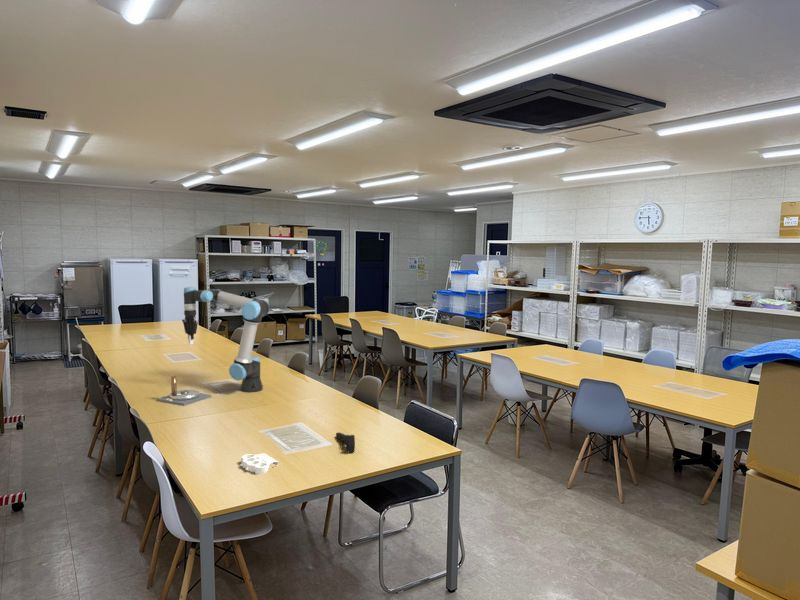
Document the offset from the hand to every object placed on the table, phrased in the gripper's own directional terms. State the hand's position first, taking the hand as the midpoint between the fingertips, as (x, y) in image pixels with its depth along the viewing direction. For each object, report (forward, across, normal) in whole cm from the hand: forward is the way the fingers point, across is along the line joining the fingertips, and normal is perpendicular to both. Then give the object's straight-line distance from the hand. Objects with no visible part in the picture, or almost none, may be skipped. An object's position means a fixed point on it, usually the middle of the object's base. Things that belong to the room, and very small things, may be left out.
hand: (190, 344), depth 362 cm
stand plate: (+32, +13, -19) cm, 39 cm away
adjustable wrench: (+34, +146, -44) cm, 156 cm away
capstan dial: (+30, +13, -19) cm, 38 cm away
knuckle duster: (+34, +125, -84) cm, 155 cm away
